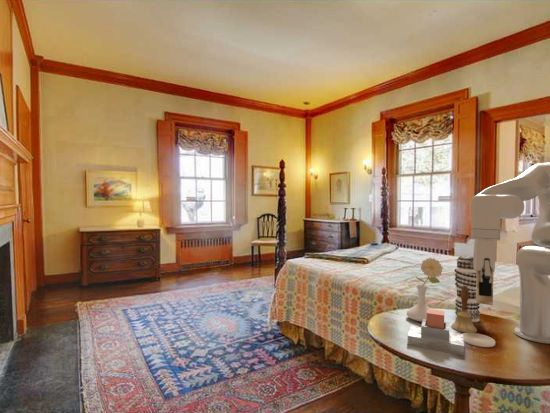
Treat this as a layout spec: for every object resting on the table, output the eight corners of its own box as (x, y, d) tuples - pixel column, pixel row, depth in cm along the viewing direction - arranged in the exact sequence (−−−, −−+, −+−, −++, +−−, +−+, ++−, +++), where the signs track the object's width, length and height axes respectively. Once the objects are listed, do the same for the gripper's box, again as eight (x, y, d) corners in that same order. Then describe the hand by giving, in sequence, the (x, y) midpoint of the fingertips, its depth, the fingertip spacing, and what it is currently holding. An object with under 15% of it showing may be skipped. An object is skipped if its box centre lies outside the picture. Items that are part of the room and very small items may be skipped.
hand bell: (477, 327, 122) (477, 284, 122) (476, 334, 115) (477, 289, 115) (451, 323, 126) (452, 282, 126) (450, 329, 119) (450, 286, 119)
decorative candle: (474, 324, 125) (475, 259, 125) (450, 317, 133) (450, 256, 133) (484, 319, 131) (485, 257, 130) (460, 312, 138) (461, 254, 138)
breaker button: (444, 324, 108) (444, 310, 108) (443, 329, 104) (443, 315, 104) (427, 321, 111) (427, 308, 110) (426, 326, 106) (426, 312, 106)
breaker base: (462, 343, 108) (463, 323, 108) (463, 355, 99) (464, 334, 99) (410, 333, 115) (411, 315, 115) (407, 344, 107) (407, 324, 107)
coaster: (486, 335, 114) (486, 333, 114) (501, 348, 104) (501, 345, 104) (455, 333, 116) (455, 331, 116) (468, 346, 106) (468, 343, 106)
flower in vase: (404, 321, 127) (405, 258, 127) (407, 313, 138) (408, 254, 137) (442, 327, 121) (442, 260, 121) (442, 318, 131) (443, 256, 131)
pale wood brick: (490, 301, 101) (491, 269, 101) (492, 305, 98) (493, 272, 98) (475, 299, 103) (476, 268, 103) (477, 303, 99) (477, 270, 99)
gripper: (468, 232, 110) (467, 286, 110) (473, 235, 95) (472, 298, 95) (495, 233, 106) (494, 289, 106) (504, 237, 91) (503, 302, 91)
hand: (484, 293), depth 100 cm, fingers closed on pale wood brick, 4 cm apart
